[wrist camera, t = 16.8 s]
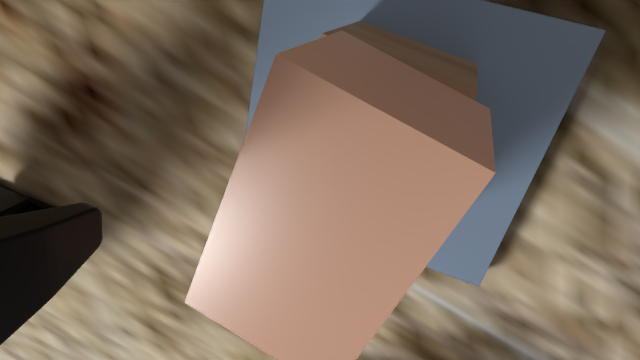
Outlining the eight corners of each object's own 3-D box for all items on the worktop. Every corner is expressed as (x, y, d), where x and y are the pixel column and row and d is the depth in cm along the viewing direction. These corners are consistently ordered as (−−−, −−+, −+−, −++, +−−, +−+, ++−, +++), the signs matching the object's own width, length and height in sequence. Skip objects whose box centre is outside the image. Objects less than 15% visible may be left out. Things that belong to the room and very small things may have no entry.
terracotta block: (369, 287, 17) (331, 392, 12) (258, 222, 17) (184, 302, 13) (490, 108, 13) (495, 172, 9) (342, 30, 13) (276, 54, 9)
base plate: (479, 272, 22) (479, 286, 21) (247, 188, 24) (237, 197, 23) (598, 27, 16) (605, 30, 15) (282, -49, 19) (270, -51, 18)
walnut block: (402, 224, 21) (382, 287, 17) (307, 183, 22) (265, 232, 17) (477, 63, 17) (477, 92, 13) (360, 20, 18) (322, 33, 14)
